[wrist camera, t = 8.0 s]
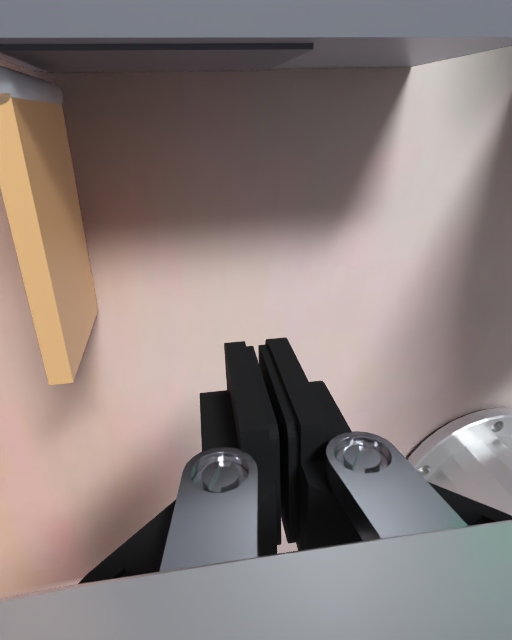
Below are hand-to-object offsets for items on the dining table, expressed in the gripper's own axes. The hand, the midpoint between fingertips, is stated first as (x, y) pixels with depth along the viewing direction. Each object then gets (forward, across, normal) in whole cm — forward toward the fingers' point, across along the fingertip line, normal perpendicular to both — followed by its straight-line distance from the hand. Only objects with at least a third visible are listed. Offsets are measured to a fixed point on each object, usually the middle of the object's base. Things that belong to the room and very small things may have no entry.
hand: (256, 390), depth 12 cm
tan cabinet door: (+10, +7, -4) cm, 13 cm away
